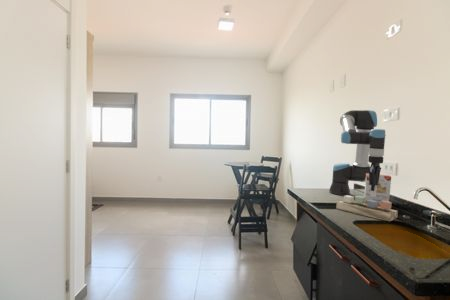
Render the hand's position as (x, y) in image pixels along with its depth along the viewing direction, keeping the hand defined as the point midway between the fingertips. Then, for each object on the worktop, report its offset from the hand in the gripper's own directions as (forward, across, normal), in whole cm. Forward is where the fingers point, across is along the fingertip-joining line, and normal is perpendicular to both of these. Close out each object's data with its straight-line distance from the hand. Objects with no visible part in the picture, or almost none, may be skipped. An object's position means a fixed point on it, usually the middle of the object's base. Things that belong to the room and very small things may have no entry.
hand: (372, 196), depth 162 cm
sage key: (+8, 0, -7) cm, 10 cm away
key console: (+11, 0, -3) cm, 11 cm away
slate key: (+9, 0, 0) cm, 9 cm away
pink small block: (+8, 0, +7) cm, 11 cm away
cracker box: (+11, -22, -5) cm, 25 cm away
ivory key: (+9, 0, -14) cm, 16 cm away
